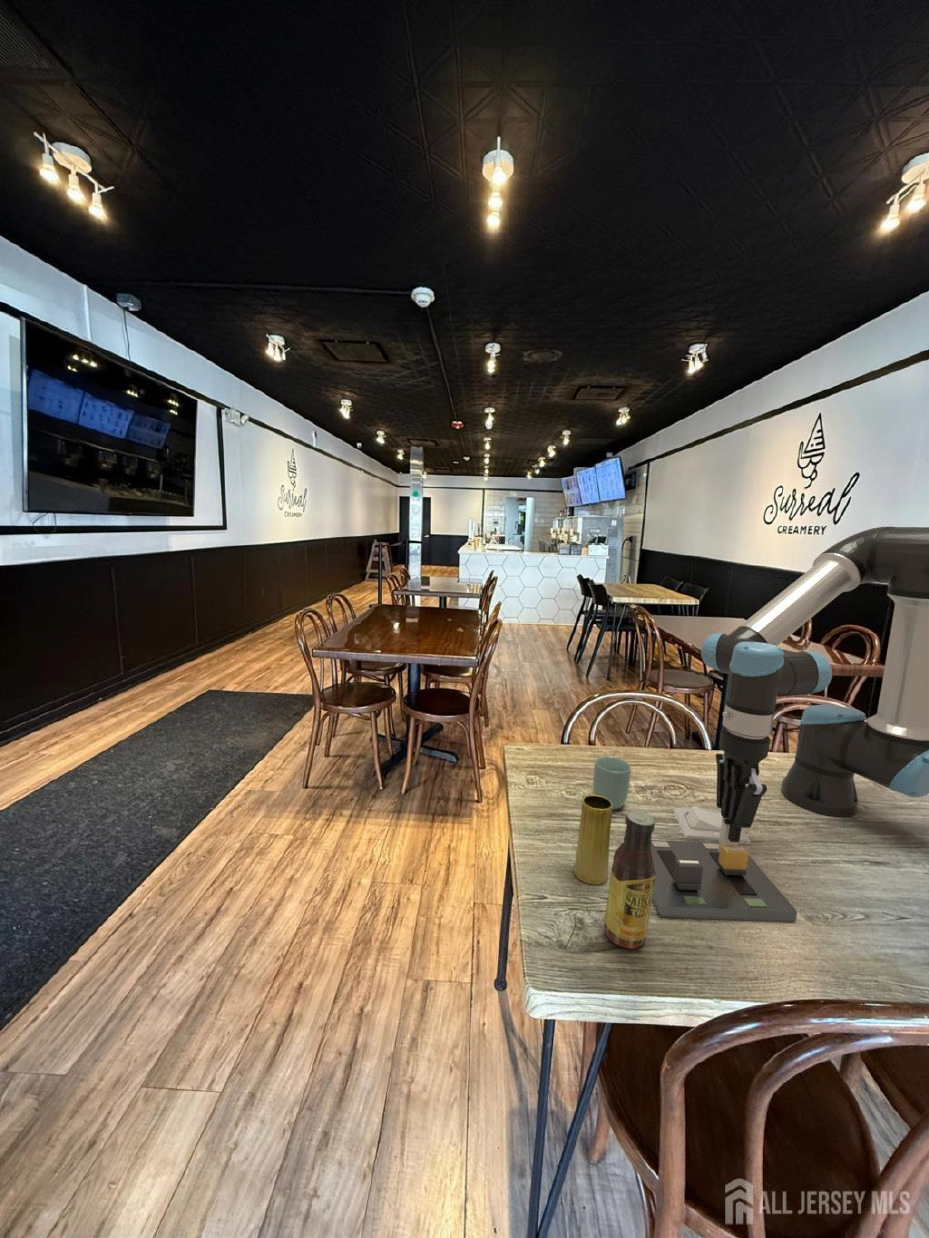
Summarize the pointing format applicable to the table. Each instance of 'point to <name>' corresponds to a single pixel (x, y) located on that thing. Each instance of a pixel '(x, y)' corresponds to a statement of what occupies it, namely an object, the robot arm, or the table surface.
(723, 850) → the lever
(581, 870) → the vase
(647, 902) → the sauce bottle
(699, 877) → the lever
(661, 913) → the breaker panel
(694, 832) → the light switch
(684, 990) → the table surface
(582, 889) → the table surface
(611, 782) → the cup
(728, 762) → the robot arm
